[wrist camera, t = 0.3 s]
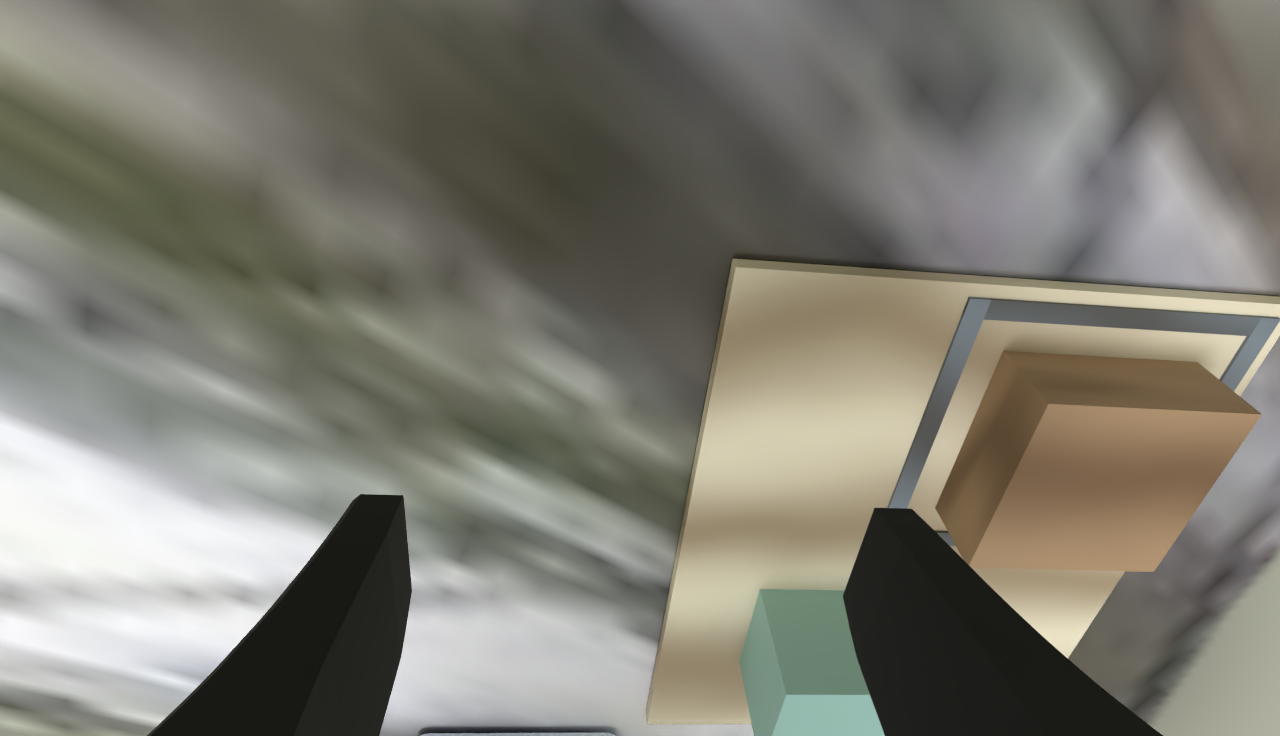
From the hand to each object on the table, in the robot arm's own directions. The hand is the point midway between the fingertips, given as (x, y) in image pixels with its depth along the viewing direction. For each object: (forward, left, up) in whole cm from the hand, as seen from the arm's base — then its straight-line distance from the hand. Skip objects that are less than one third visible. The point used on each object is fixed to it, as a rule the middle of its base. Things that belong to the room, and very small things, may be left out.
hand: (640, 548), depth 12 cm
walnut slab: (-4, -14, -9) cm, 17 cm away
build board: (-9, -11, -10) cm, 17 cm away
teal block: (-13, -8, -9) cm, 18 cm away
